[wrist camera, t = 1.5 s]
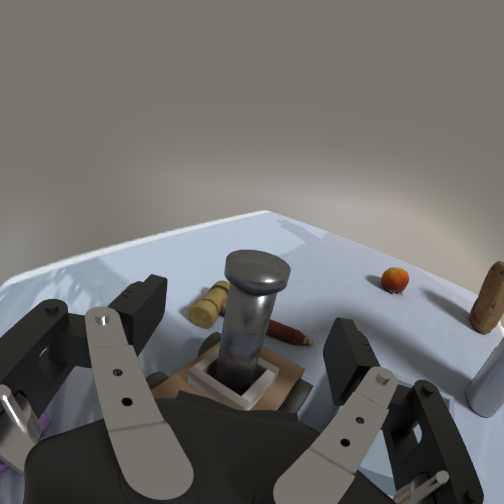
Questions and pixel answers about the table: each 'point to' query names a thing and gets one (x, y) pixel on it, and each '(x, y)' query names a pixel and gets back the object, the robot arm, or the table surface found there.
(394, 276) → the fruit
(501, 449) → the table surface
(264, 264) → the pin
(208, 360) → the wheeled pole base
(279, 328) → the gavel
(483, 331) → the block
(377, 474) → the tray
